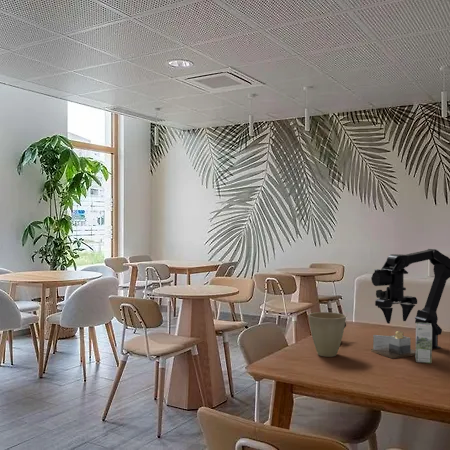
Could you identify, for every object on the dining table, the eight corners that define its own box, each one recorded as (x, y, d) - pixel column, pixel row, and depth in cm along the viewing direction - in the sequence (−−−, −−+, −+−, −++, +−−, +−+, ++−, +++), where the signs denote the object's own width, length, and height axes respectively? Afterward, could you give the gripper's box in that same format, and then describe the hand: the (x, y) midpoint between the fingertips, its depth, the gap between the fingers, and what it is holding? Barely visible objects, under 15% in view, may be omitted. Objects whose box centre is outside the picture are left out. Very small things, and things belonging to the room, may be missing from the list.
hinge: (398, 347, 216) (398, 331, 216) (420, 354, 205) (420, 337, 205) (371, 351, 210) (371, 334, 210) (392, 358, 199) (392, 340, 199)
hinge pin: (404, 352, 205) (404, 332, 205) (398, 352, 204) (398, 333, 204) (399, 350, 208) (399, 330, 208) (393, 351, 207) (393, 331, 207)
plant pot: (352, 354, 205) (352, 315, 205) (333, 361, 194) (333, 320, 194) (320, 347, 215) (321, 310, 215) (300, 354, 205) (301, 315, 204)
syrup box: (431, 359, 197) (431, 322, 197) (431, 364, 192) (432, 325, 192) (415, 358, 199) (415, 321, 199) (415, 362, 194) (416, 324, 194)
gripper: (397, 281, 223) (397, 316, 223) (365, 284, 214) (365, 321, 214) (418, 284, 213) (418, 321, 213) (385, 287, 204) (385, 326, 204)
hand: (396, 322), depth 211 cm, fingers open, 9 cm apart
